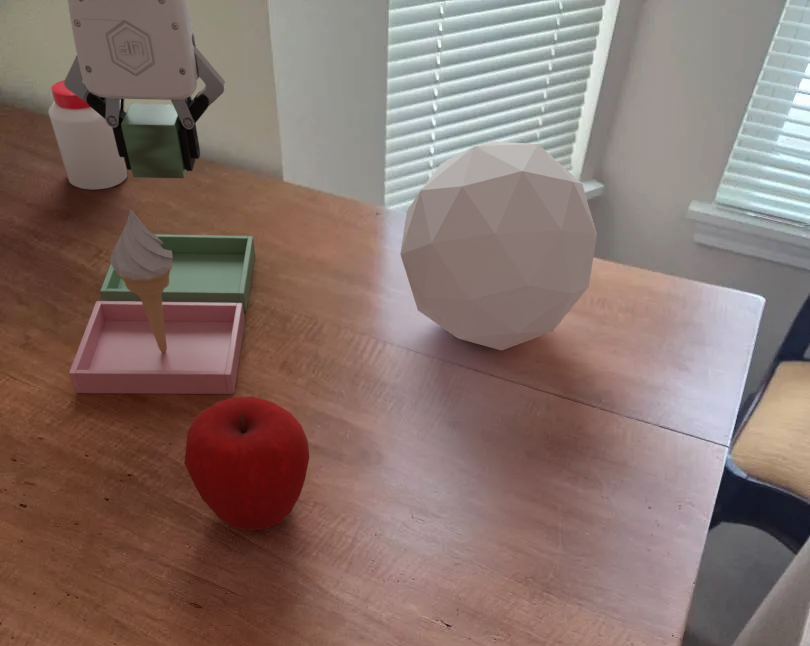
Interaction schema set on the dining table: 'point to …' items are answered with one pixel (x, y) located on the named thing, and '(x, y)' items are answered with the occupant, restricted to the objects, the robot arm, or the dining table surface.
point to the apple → (247, 461)
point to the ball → (499, 244)
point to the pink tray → (141, 357)
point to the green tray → (198, 271)
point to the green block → (153, 141)
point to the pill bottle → (85, 142)
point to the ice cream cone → (144, 271)
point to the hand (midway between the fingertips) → (161, 162)
